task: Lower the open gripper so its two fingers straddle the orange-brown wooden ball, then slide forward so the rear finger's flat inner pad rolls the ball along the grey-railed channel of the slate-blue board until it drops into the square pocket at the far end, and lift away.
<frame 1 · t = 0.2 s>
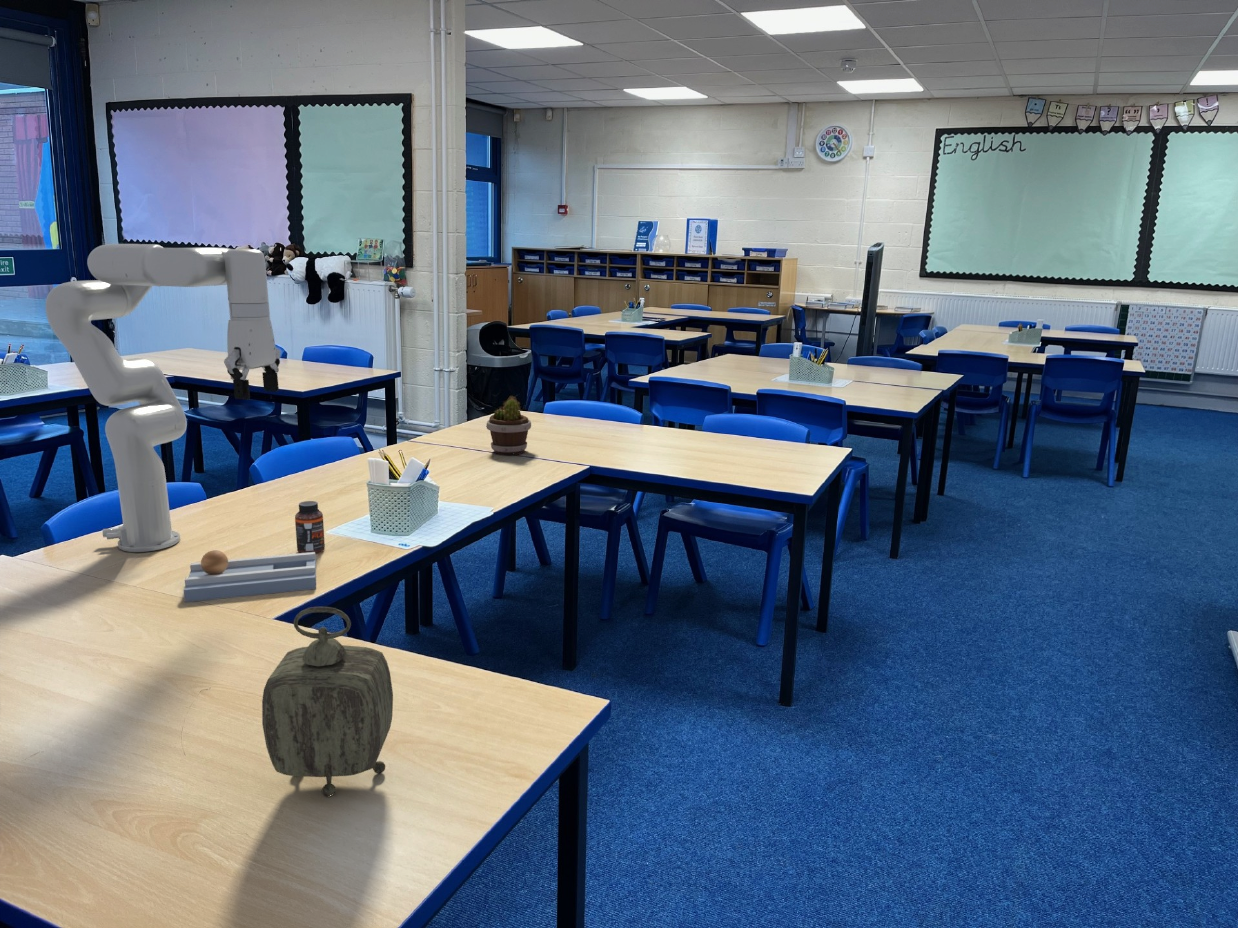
hand: (257, 395, 182), 37 cm above the table, tool pointing down, fingers open, 9 cm apart
tabletop clock: (333, 787, 114), on the table
supplement bottle: (311, 551, 197), on the table
ball: (214, 562, 175), point 5 cm above the table, touching track
flowerpot: (509, 452, 291), on the table
track: (254, 582, 179), on the table
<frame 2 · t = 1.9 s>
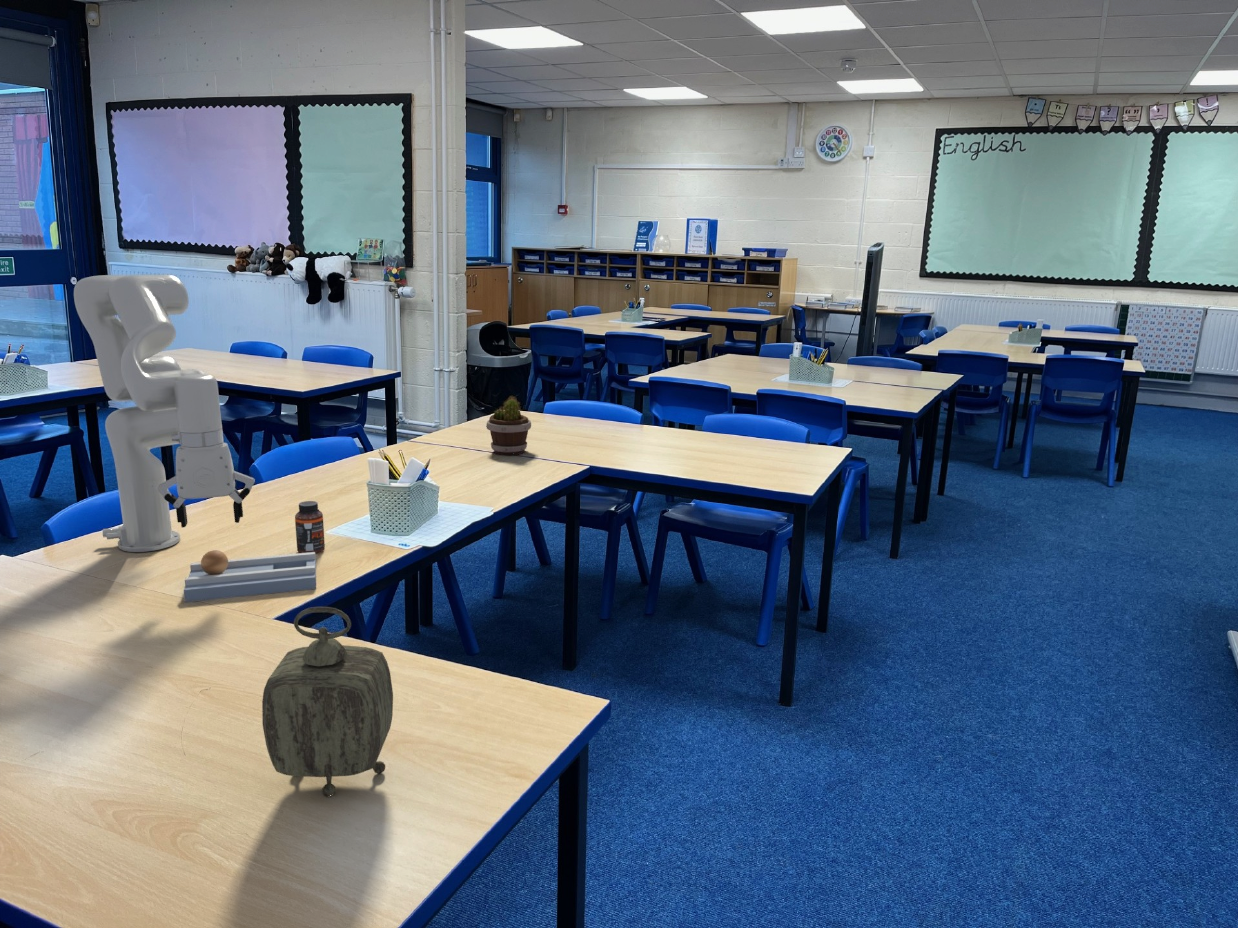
hand: (211, 523, 173), 13 cm above the table, tool pointing down, fingers open, 9 cm apart
nothing on the table moved.
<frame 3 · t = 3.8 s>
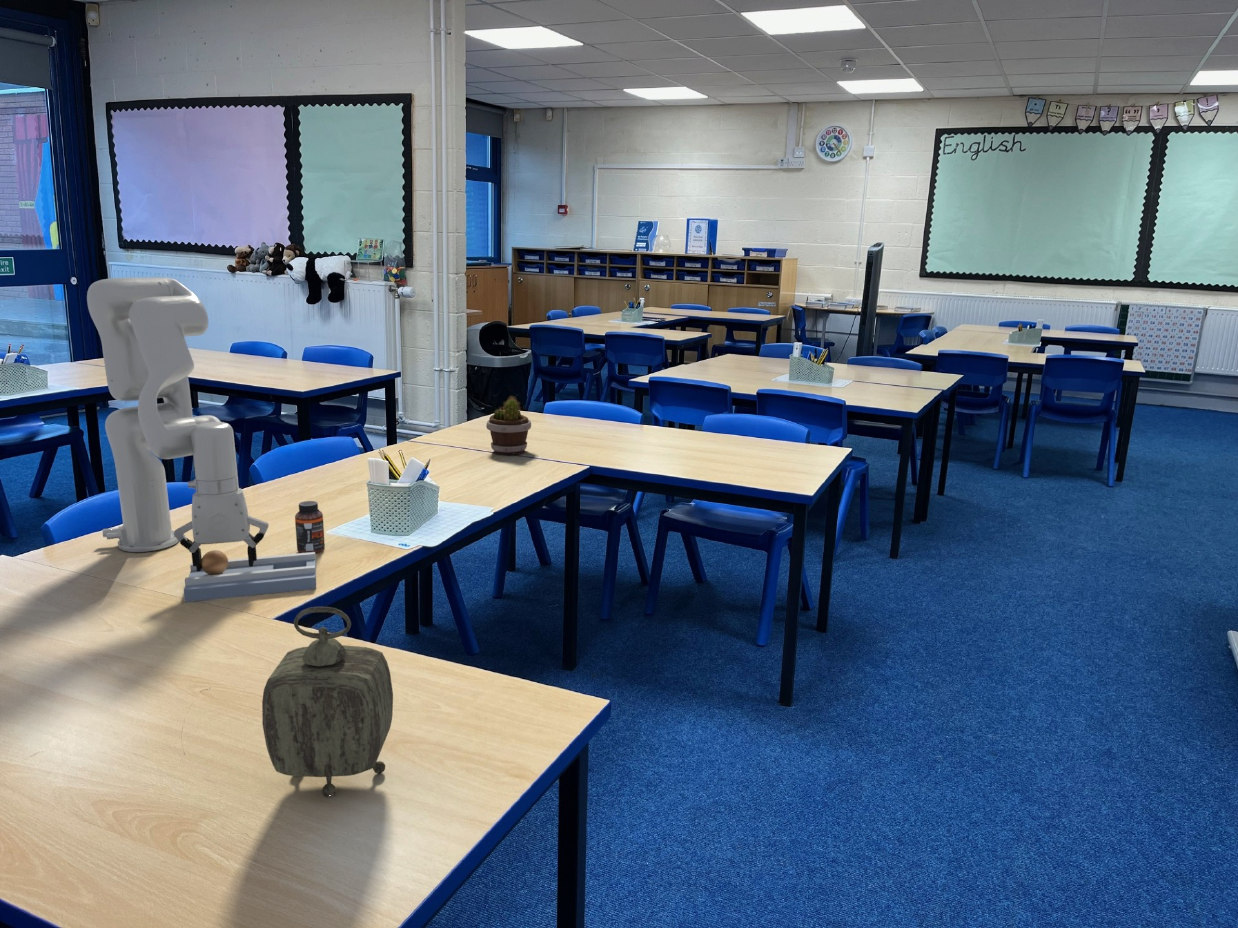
hand: (225, 566, 176), 4 cm above the table, tool pointing down, fingers open, 9 cm apart
ball: (214, 562, 175), point 5 cm above the table, touching track, gripper
everything else where it was.
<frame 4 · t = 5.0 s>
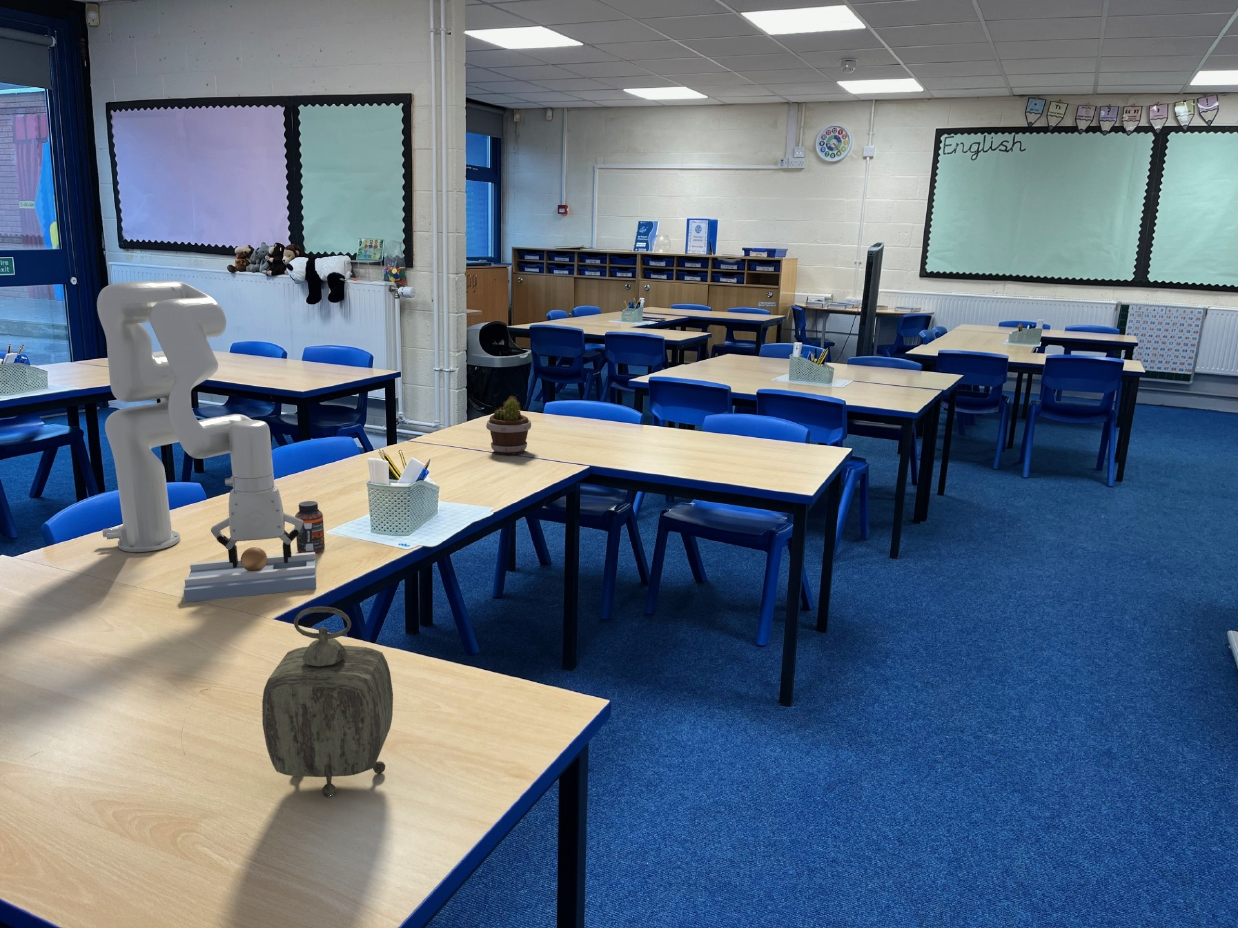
hand: (261, 563, 178), 4 cm above the table, tool pointing down, fingers open, 9 cm apart
ball: (254, 559, 178), point 5 cm above the table, tilted 167°, touching track
everything else where it was.
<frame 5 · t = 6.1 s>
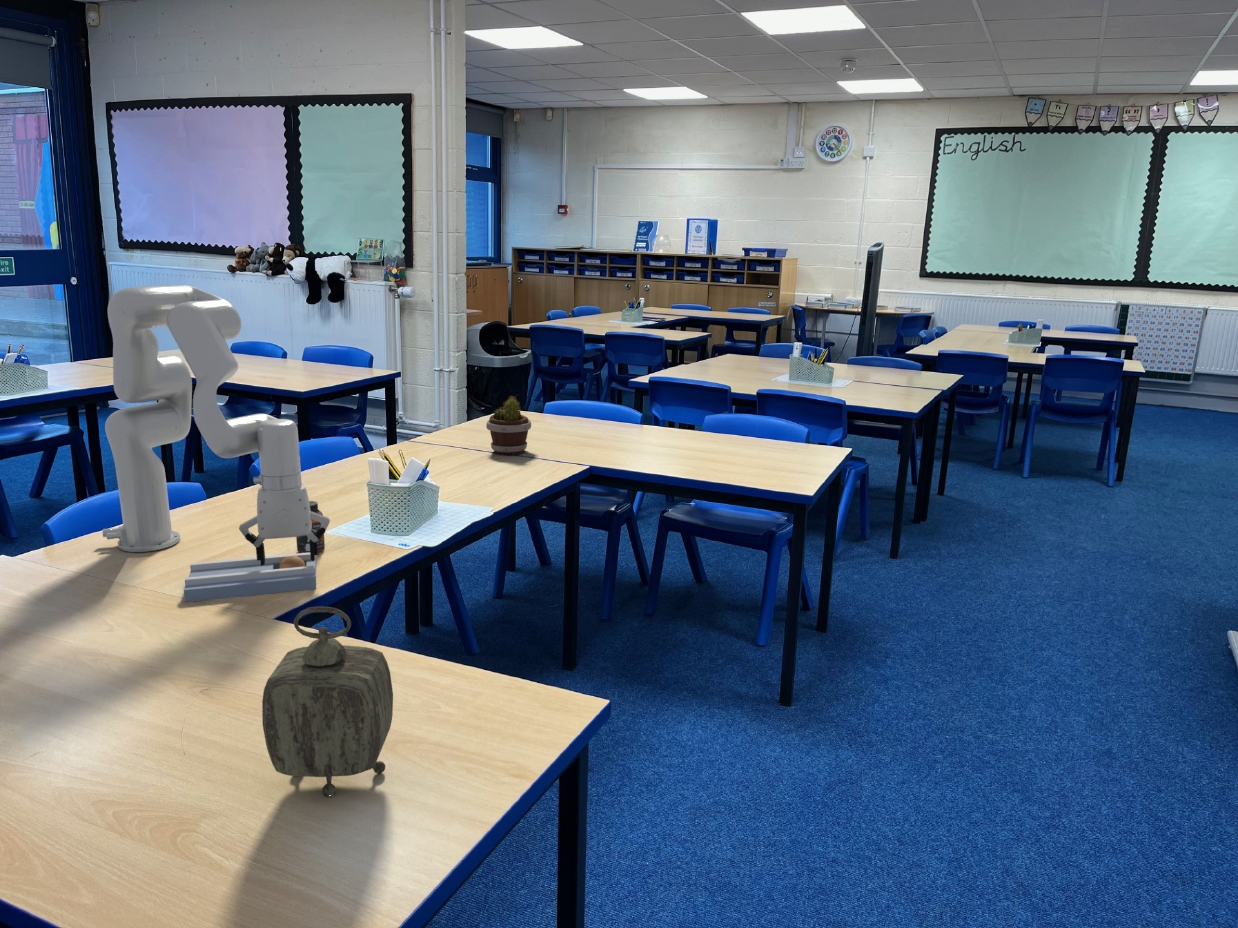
hand: (288, 560, 180), 4 cm above the table, tool pointing down, fingers open, 9 cm apart
ball: (292, 567, 180), point 2 cm above the table, tilted 5°
everything else where it was.
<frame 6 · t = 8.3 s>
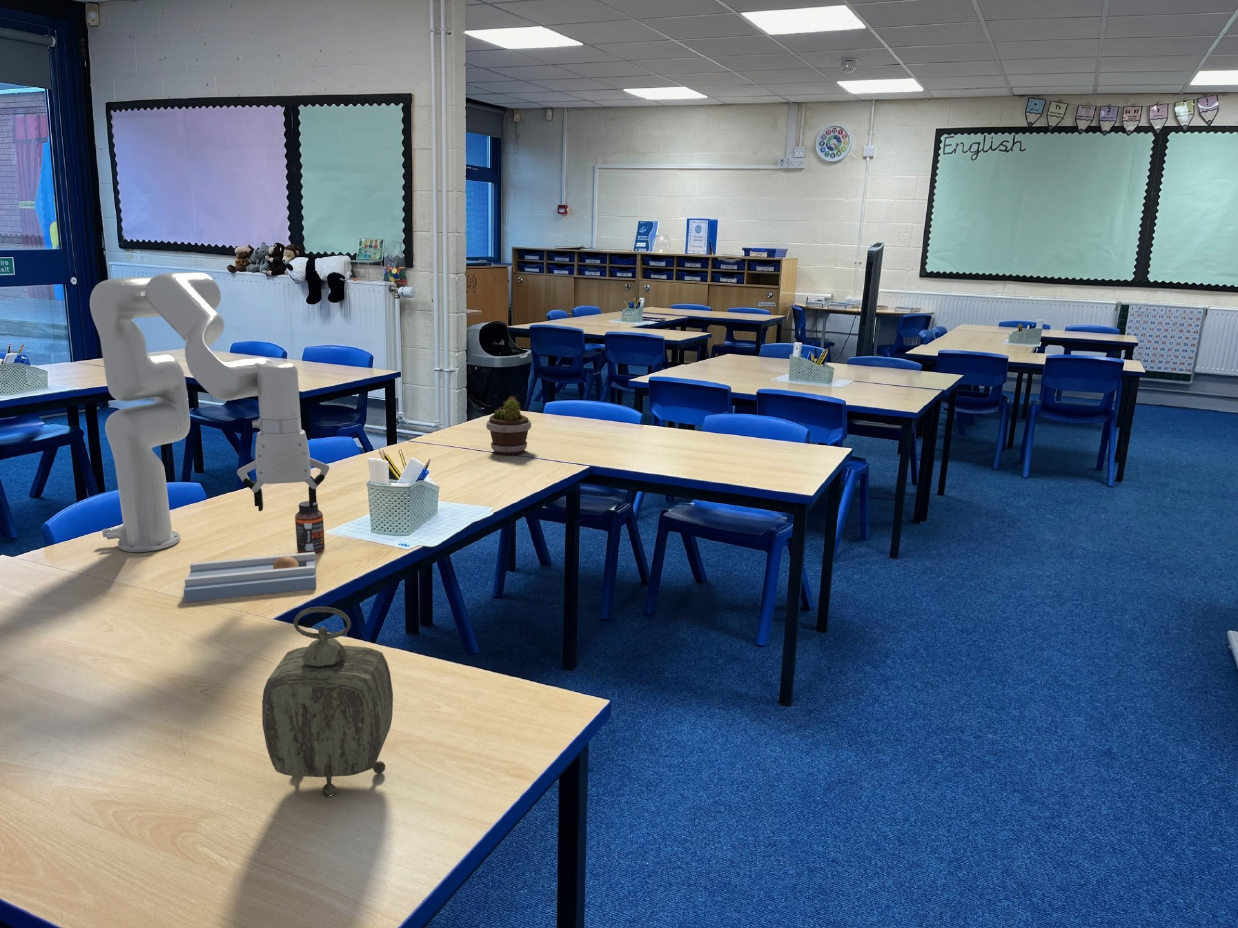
hand: (286, 507, 177), 15 cm above the table, tool pointing down, fingers open, 9 cm apart
ball: (286, 568, 180), point 2 cm above the table, tilted 33°
everything else where it was.
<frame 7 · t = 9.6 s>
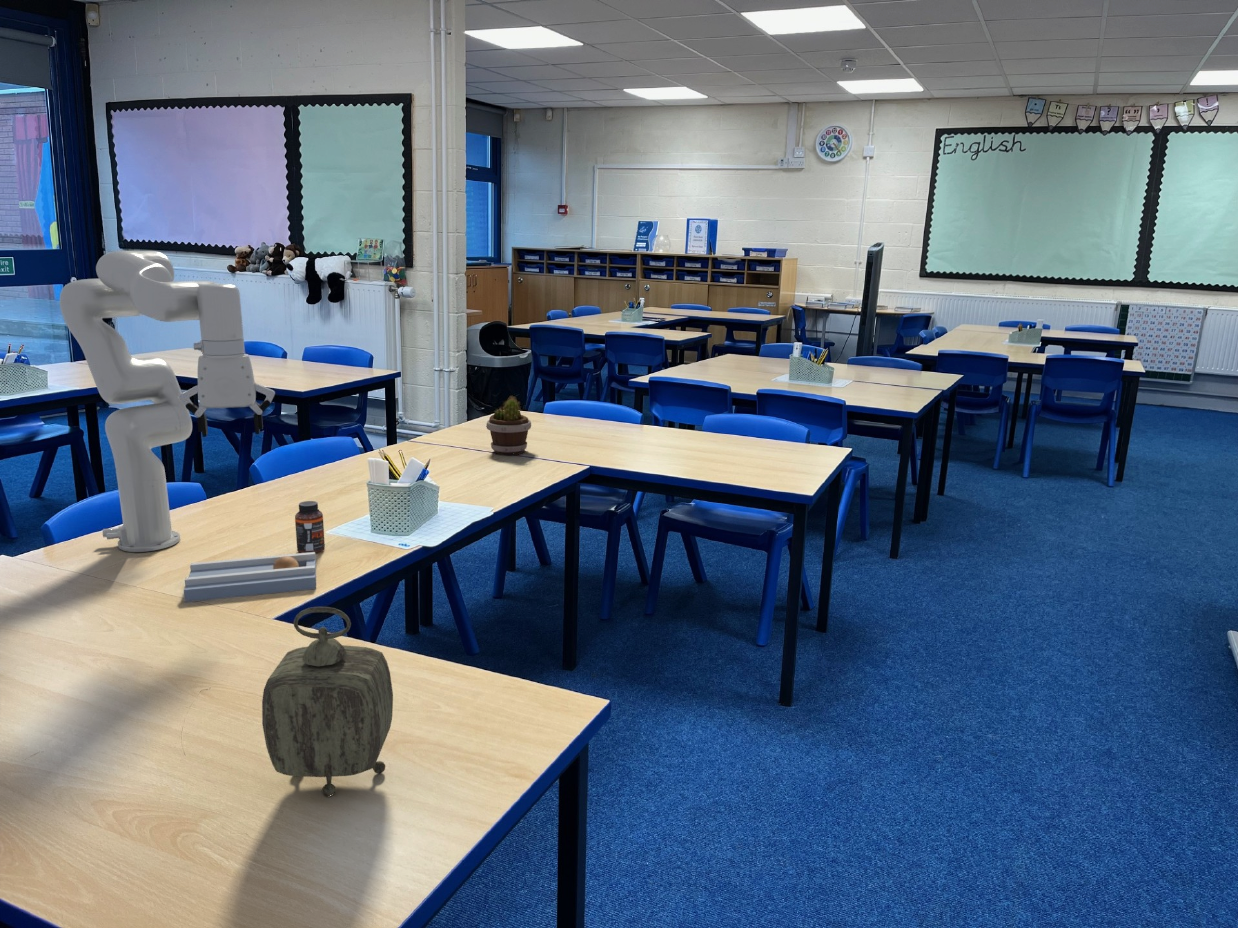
hand: (231, 434, 174), 30 cm above the table, tool pointing down, fingers open, 9 cm apart
nothing on the table moved.
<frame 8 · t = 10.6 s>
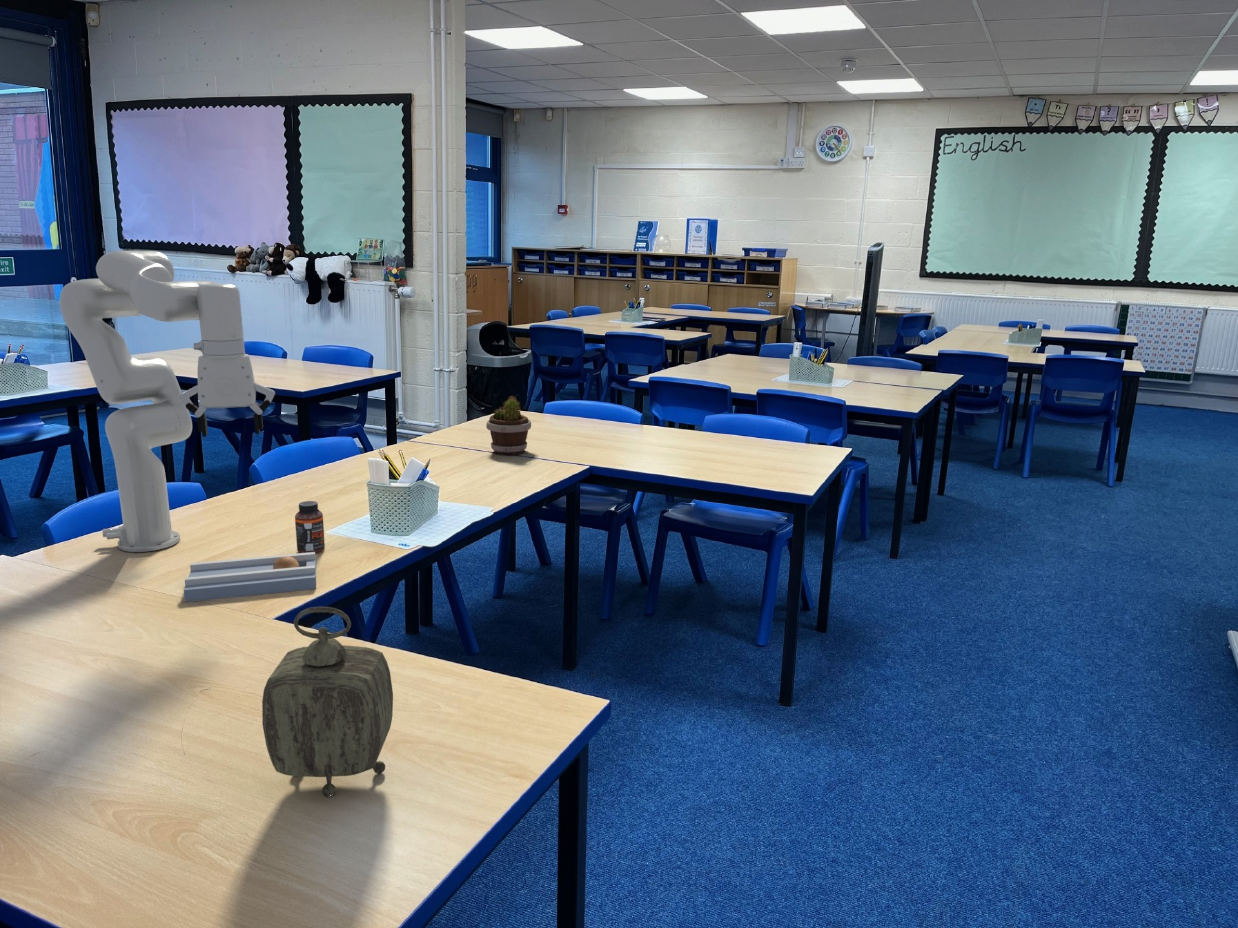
hand: (231, 434, 174), 30 cm above the table, tool pointing down, fingers open, 9 cm apart
nothing on the table moved.
at the end: ball 0.7 cm from the target spot on the track, point 2.5 cm above the track's base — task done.
